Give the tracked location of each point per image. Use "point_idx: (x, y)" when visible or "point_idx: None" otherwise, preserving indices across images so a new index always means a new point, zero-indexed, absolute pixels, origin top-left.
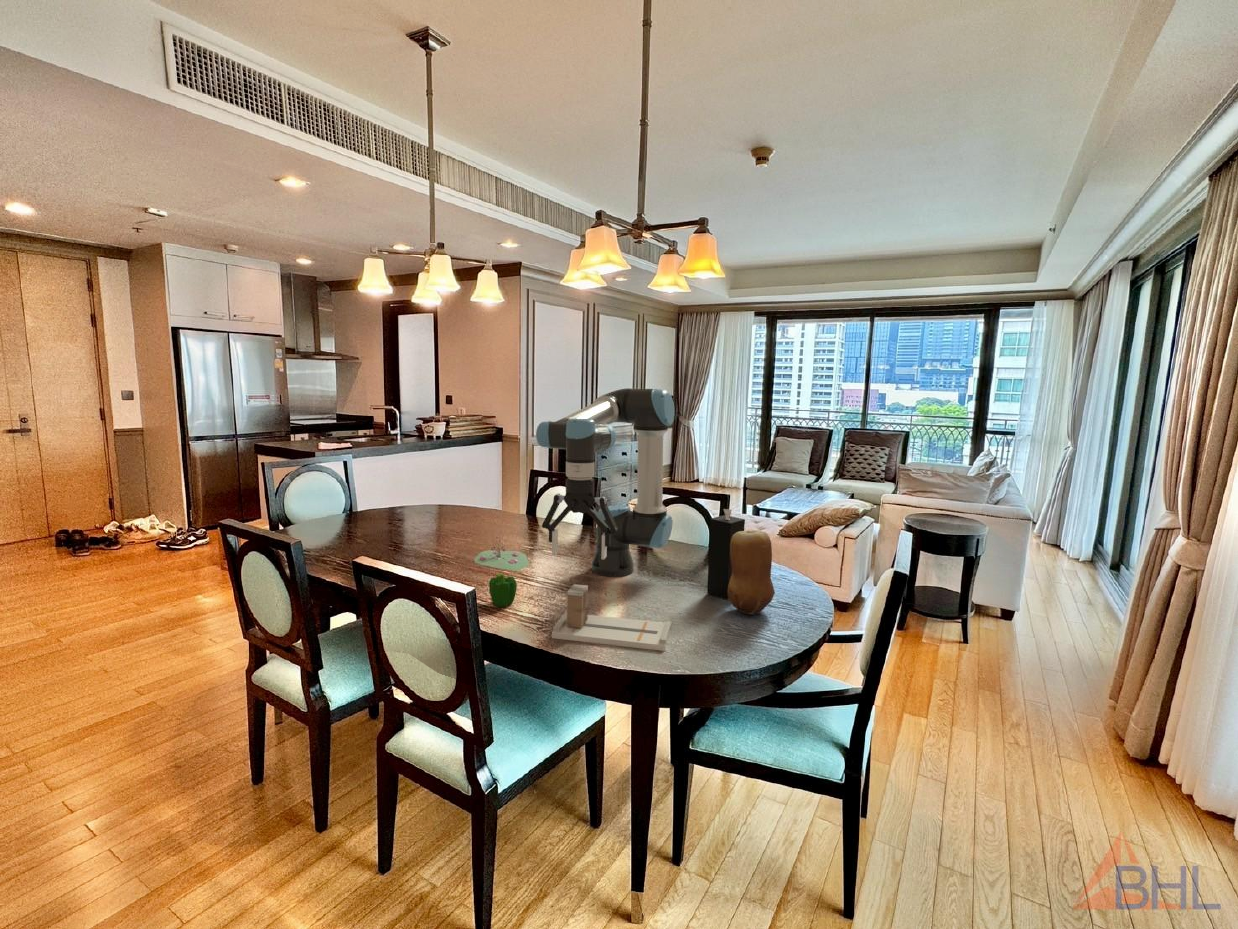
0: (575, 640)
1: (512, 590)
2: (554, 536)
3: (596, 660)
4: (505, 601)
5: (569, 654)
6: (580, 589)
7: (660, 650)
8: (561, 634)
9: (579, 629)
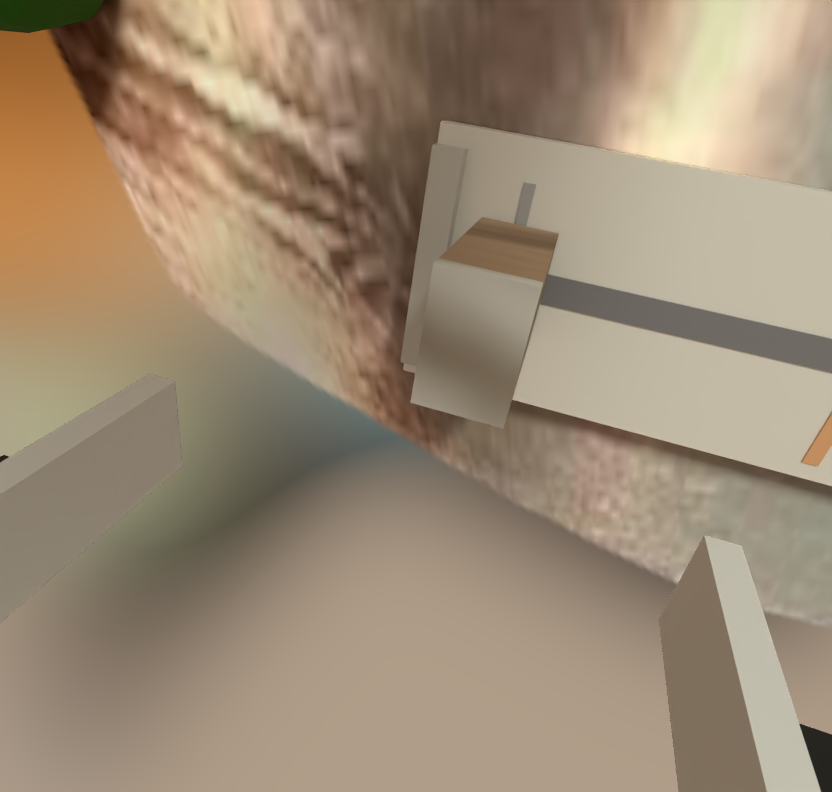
0: None
1: None
2: (10, 611)
3: (593, 532)
4: (87, 11)
5: (493, 485)
6: (489, 368)
7: None
8: None
9: None
